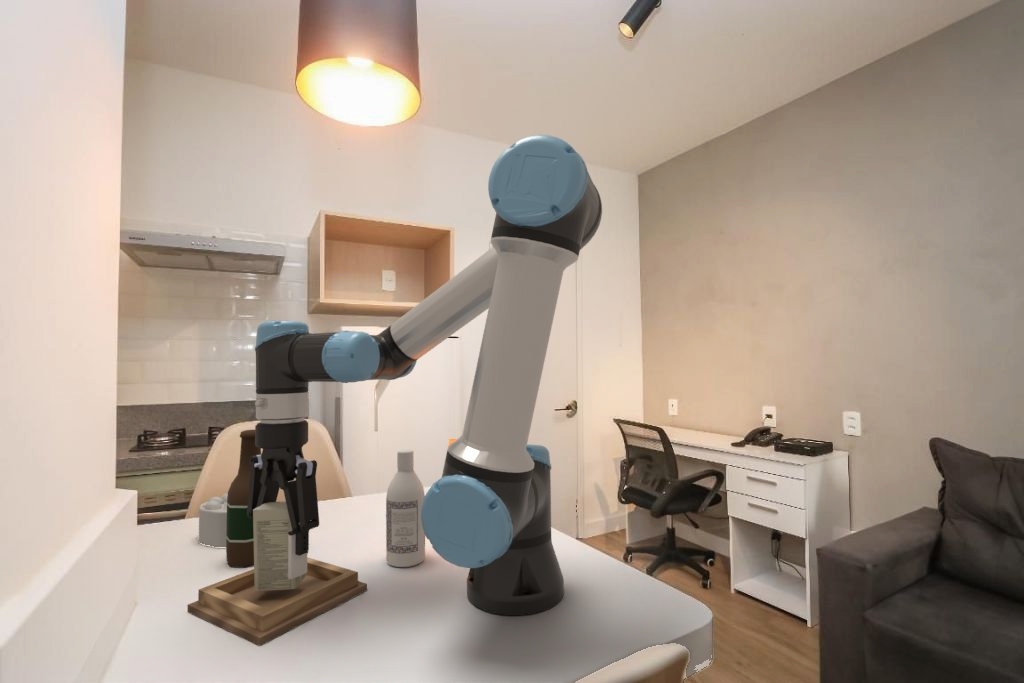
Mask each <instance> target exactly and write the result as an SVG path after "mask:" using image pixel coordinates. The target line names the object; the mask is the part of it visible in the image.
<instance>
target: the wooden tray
mask: <svg viewBox="0 0 1024 683" xmlns="http://www.w3.org/2000/svg"><path fill="white" fill-rule="evenodd" d="M366 590H367V591H368V583H366V582H362V581H360V580H359V571H357V570H356V571H355V570H352V569H349V568H345V567H341V566H339V565H335V564H332V563H328V562H324V561H322V560H318V559H315V558H311V557H308V556H307V573H305V578H304V580H303V581H302V582H301V583H300V584H299V585H298V586H297V587H296V588H295V589H287V590H269V591H255V586H254V568H252V569H249V570H247V571H244V572H242V573H239V574H236V575H234V576H231V577H228V578H226V579H223V580H221V581H218V582H215V583H213V584H210V585H206V586H205V587H202V588H201V587H200V588H199V589H198V594H197V595H198V598H197V599H198V600H196V601H193V602H191V603H188V604H187V612H188V613H189V614H191V613H192V615H193V616H195V617H198V618H200V619H202V620H205V621H206V620H207V622H208V621H209V622H208V623H210V622H211V623H210V624H212V625H215V626H217V627H219V628H221V629H223V630H226V631H228V632H230V633H232V634H234V635H236V636H239V637H240V638H242V639H245V640H246V641H249V642H250V643H252V644H255V645H257V646H259V647H260V646H262V645H264V644H266V643H269V641H272V640H274V639H275V638H278V637H280V636H281V635H284V634H285V633H287V632H290V631H292V630H293V629H295V628H297V627H299V626H301V625H303V624H305V623H306V622H307V623H308V622H309V621H310V620H313V619H314V618H316V617H319V616H320V615H323V614H324V613H326V612H328V611H330V610H332V609H334V608H335V607H338V606H339V604H340V605H342V604H343V603H345V602H347V601H349V600H352V599H353V598H355V597H357V596H359V595H361V594H363V593H365V592H366ZM364 591H365V592H364ZM360 593H361V594H360ZM341 603H342V604H341Z"/></svg>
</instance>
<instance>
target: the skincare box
mask: <svg viewBox="0 0 1024 683" xmlns="http://www.w3.org/2000/svg"><path fill="white" fill-rule="evenodd" d="M299 524H300V522H299ZM290 531H292V527H291V522H290V518H289V513H288V509H287V504H286V500H284V501H276V502H268V503H264V504H262V505H260V506H259V507H257V508H255V509H253V534H254V565H253V569H254V586H255V591H269V590H287V589H295V588H296V587H297V586H298V585H299V584H300V583H301V582H302V581H303V580H304V578H305V574H303V575H300V576H298V577H296V578H293V579H289V578H288V532H290Z"/></svg>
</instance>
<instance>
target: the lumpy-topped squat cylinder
mask: <svg viewBox="0 0 1024 683" xmlns="http://www.w3.org/2000/svg"><path fill="white" fill-rule="evenodd" d="M227 496H228V492H227V493H224V494H222V495H221V496H220V497H219V496H212V497H210V498H209V499H208V501H205V502H203V503H201V504H200V505H199V508H198V543H199V542H200V543H202V544H205V545H210V546H214V547H226V532H227Z"/></svg>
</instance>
